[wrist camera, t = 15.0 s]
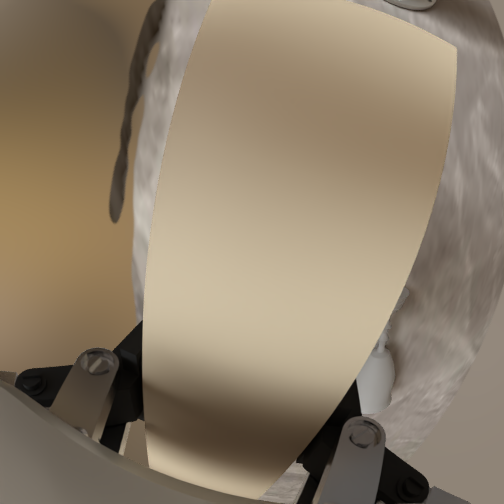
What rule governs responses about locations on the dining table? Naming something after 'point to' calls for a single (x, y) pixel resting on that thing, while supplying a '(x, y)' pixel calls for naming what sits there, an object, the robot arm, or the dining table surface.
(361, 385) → the chalice
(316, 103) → the grooved wooden block
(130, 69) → the dining table surface
